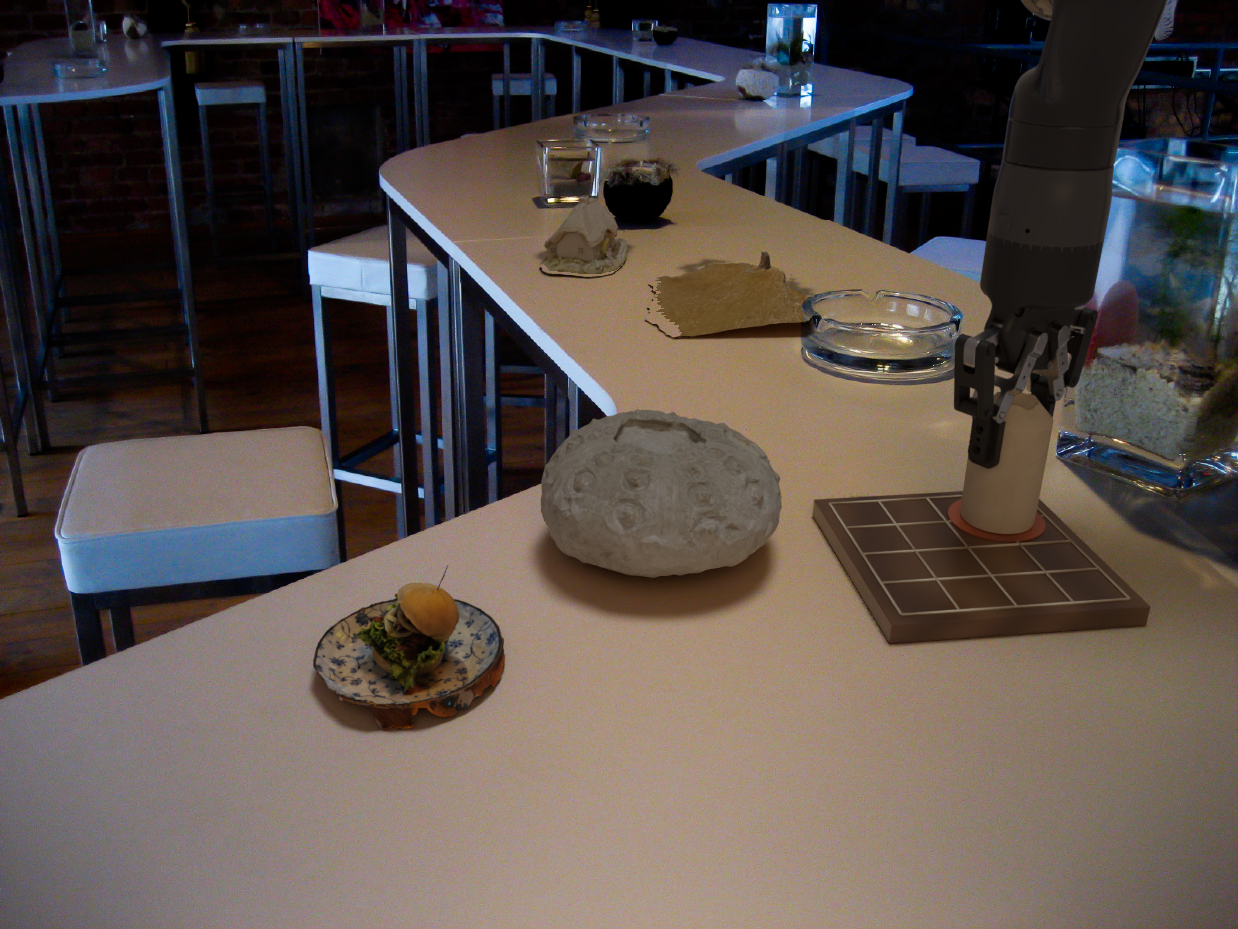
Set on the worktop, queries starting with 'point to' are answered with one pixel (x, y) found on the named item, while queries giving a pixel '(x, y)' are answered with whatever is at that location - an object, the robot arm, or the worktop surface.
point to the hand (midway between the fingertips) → (1008, 452)
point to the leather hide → (729, 298)
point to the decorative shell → (659, 495)
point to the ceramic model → (586, 241)
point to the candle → (1010, 472)
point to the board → (970, 571)
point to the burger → (412, 655)
